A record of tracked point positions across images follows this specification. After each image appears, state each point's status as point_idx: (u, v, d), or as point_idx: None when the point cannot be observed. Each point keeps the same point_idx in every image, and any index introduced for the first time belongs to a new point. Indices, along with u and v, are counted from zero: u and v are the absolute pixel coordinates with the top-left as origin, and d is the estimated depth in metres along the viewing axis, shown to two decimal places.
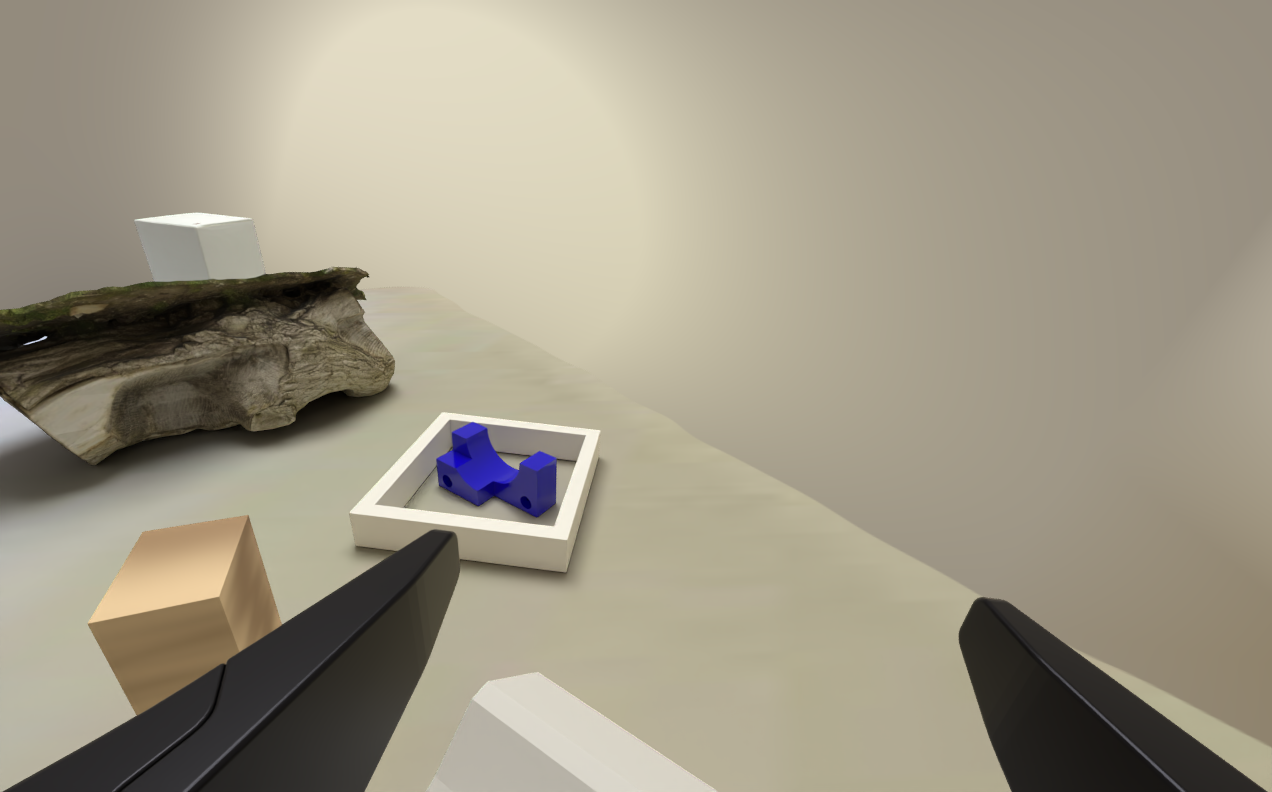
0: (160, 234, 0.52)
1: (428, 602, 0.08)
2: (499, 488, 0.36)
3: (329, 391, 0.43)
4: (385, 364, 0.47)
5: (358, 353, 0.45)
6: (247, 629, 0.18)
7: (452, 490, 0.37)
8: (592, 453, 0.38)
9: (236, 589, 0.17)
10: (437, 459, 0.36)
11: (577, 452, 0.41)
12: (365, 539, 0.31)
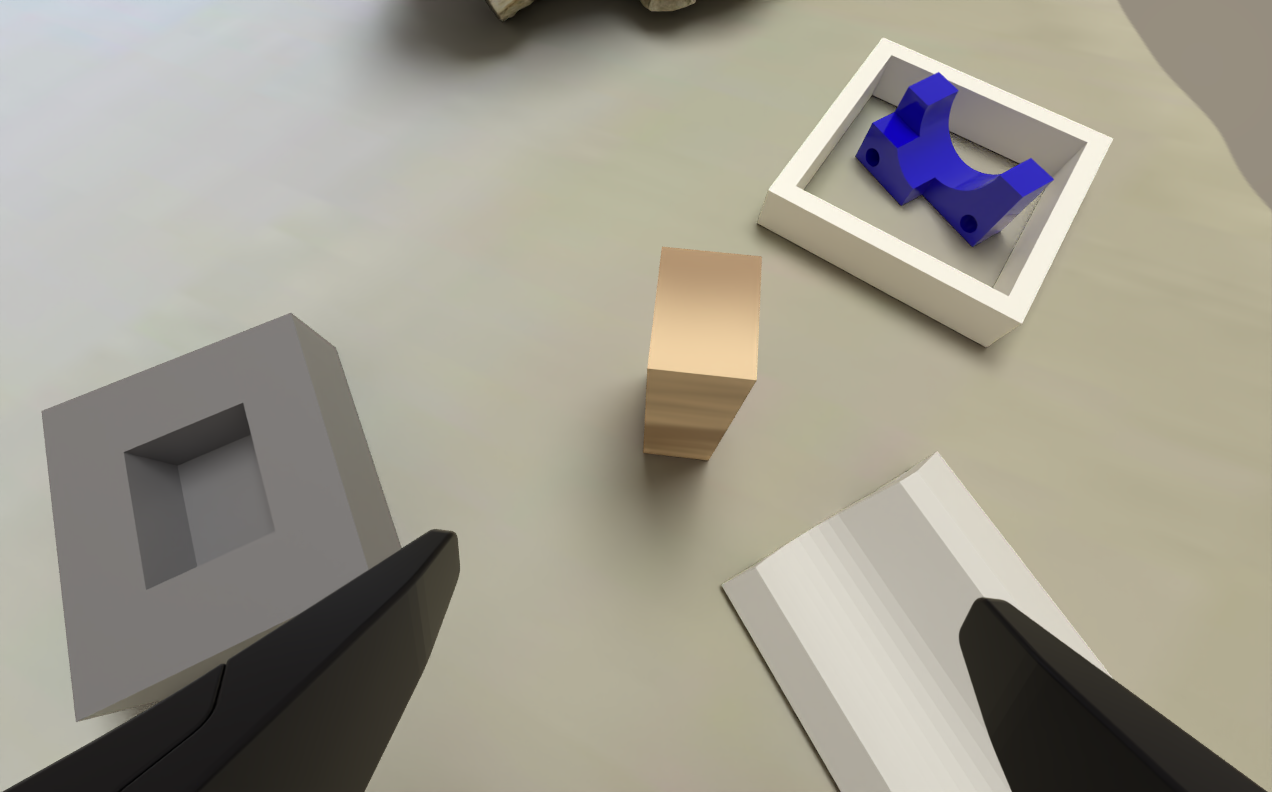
0: None
1: (428, 602, 0.08)
2: (937, 189, 0.28)
3: None
4: None
5: None
6: None
7: (872, 172, 0.29)
8: (1089, 182, 0.26)
9: None
10: (873, 124, 0.27)
11: (1050, 161, 0.28)
12: (771, 221, 0.27)
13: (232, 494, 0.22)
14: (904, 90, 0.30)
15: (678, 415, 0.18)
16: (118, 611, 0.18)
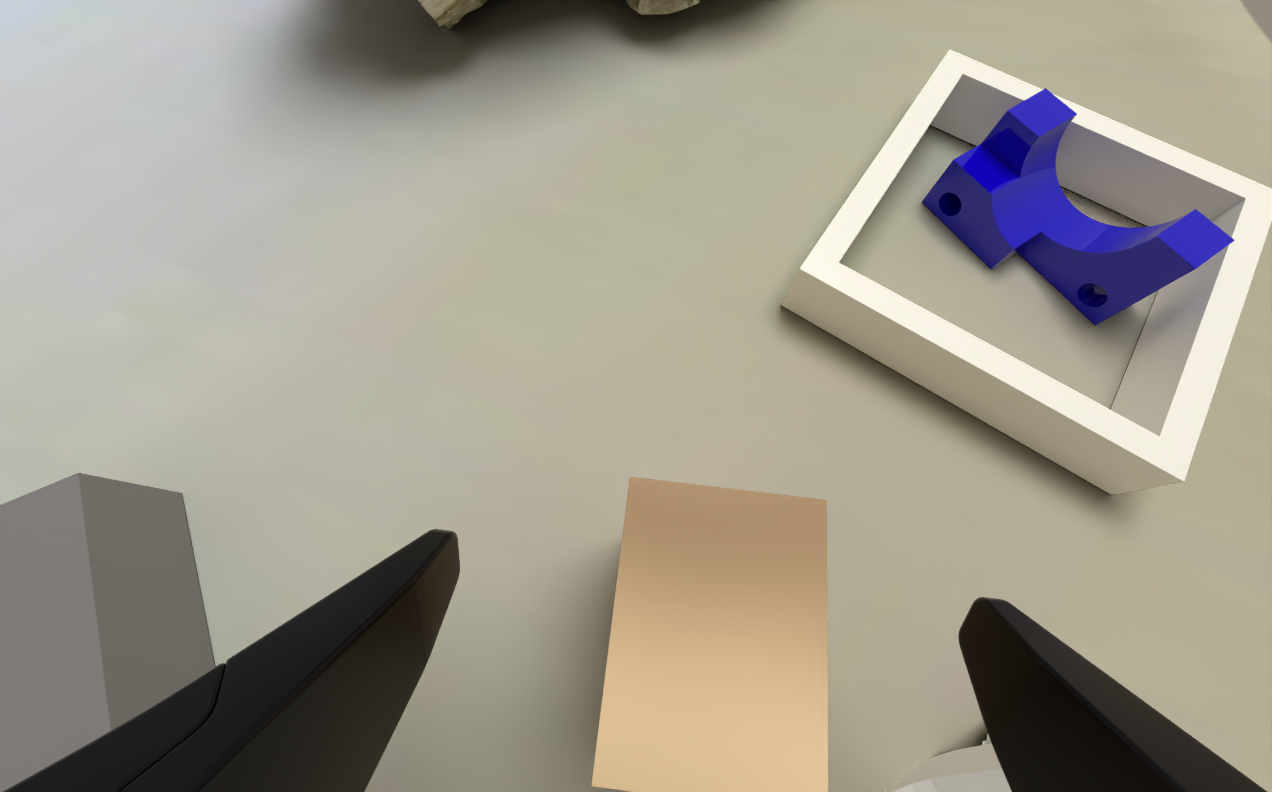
0: None
1: (428, 602, 0.08)
2: (1044, 247, 0.20)
3: None
4: None
5: None
6: None
7: (948, 222, 0.21)
8: (1256, 258, 0.18)
9: None
10: (955, 161, 0.20)
11: None
12: (801, 306, 0.20)
13: None
14: (977, 120, 0.22)
15: None
16: None
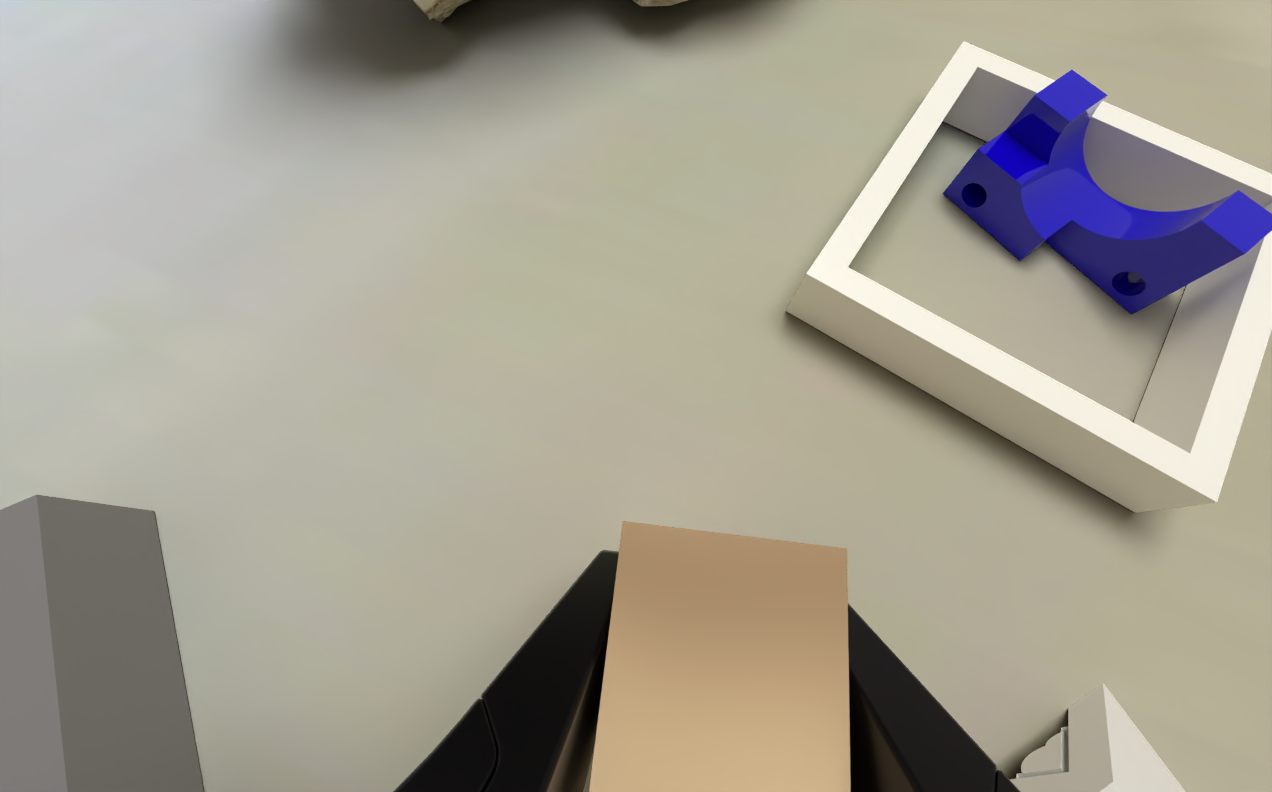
0: None
1: None
2: (1075, 235, 0.19)
3: None
4: None
5: None
6: None
7: (972, 214, 0.21)
8: None
9: None
10: (980, 150, 0.19)
11: None
12: (807, 312, 0.19)
13: None
14: (991, 116, 0.21)
15: None
16: None
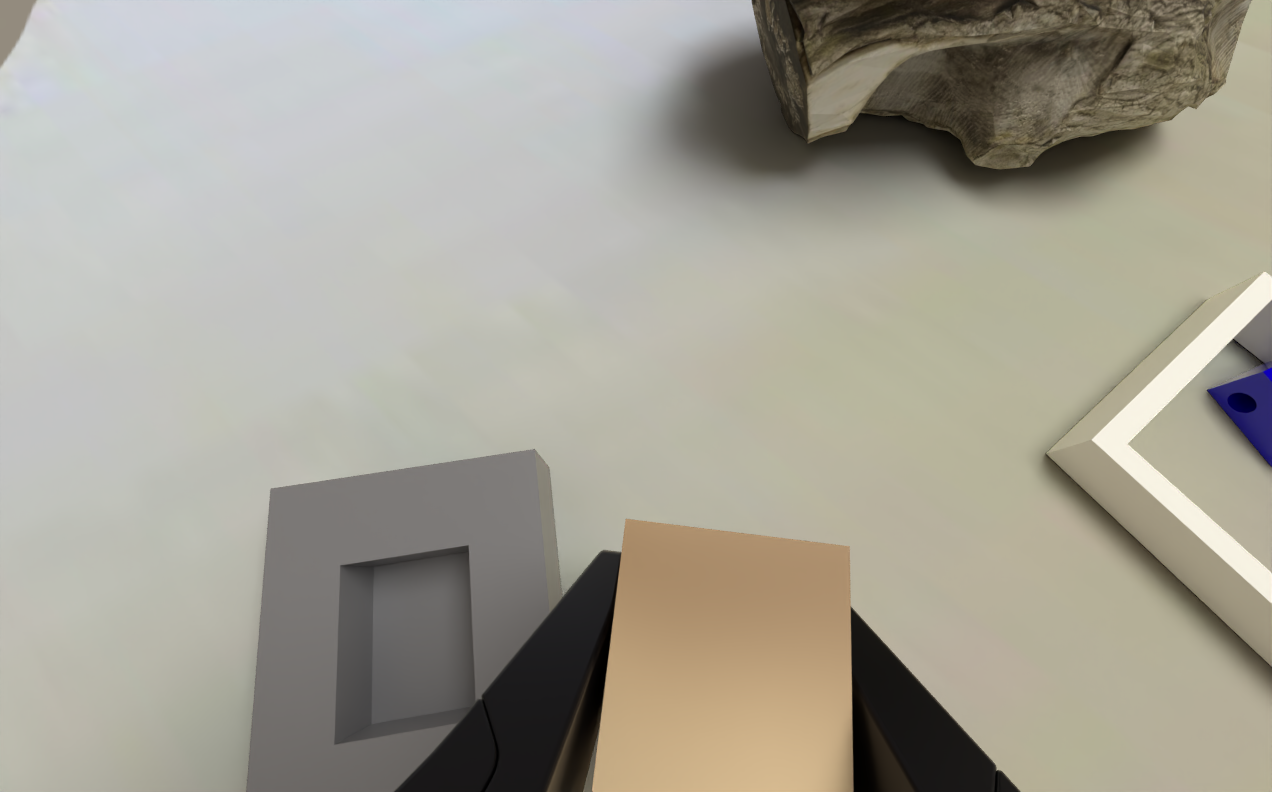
0: None
1: None
2: None
3: None
4: (1208, 95, 0.26)
5: (1205, 71, 0.24)
6: None
7: (1233, 416, 0.24)
8: None
9: None
10: (1264, 373, 0.22)
11: None
12: (1069, 462, 0.23)
13: (421, 620, 0.20)
14: (1267, 337, 0.24)
15: None
16: (302, 761, 0.17)
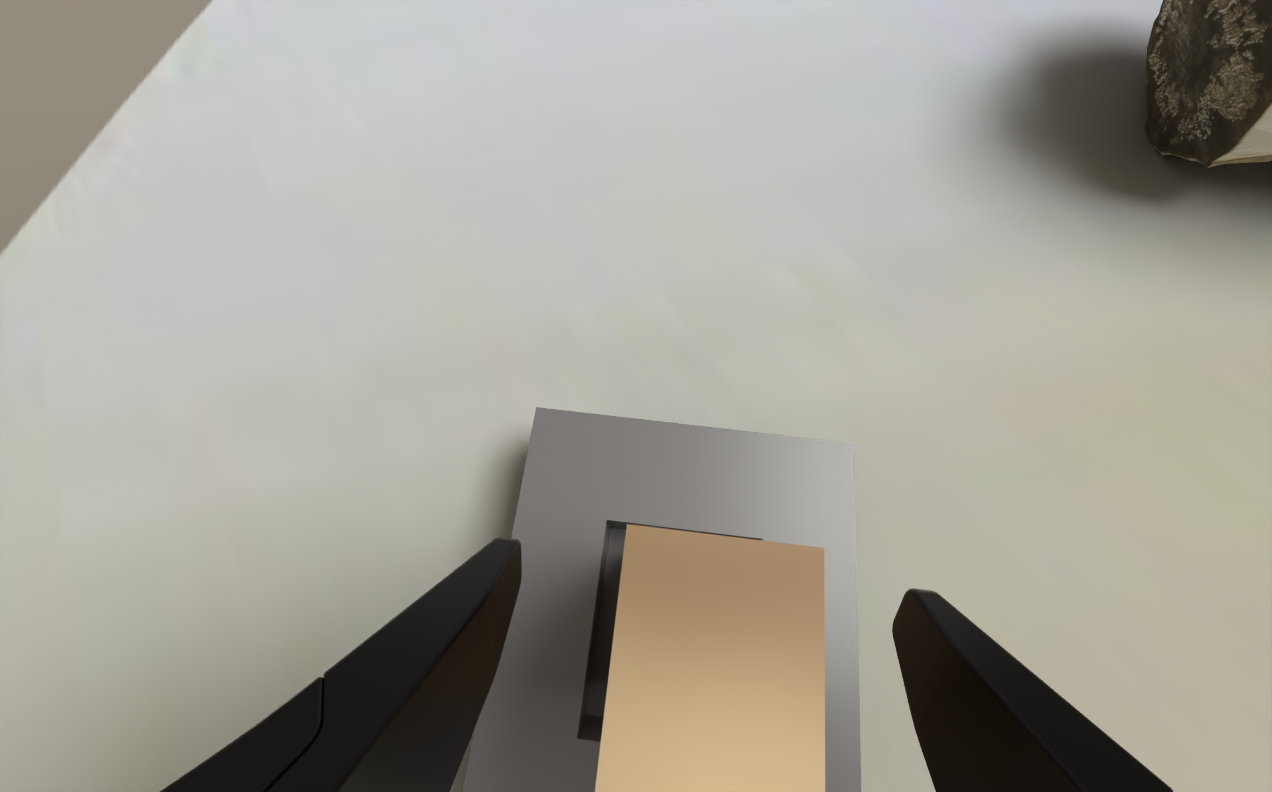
0: None
1: (499, 611, 0.08)
2: None
3: None
4: None
5: None
6: None
7: None
8: None
9: None
10: None
11: None
12: None
13: None
14: None
15: None
16: (537, 747, 0.13)
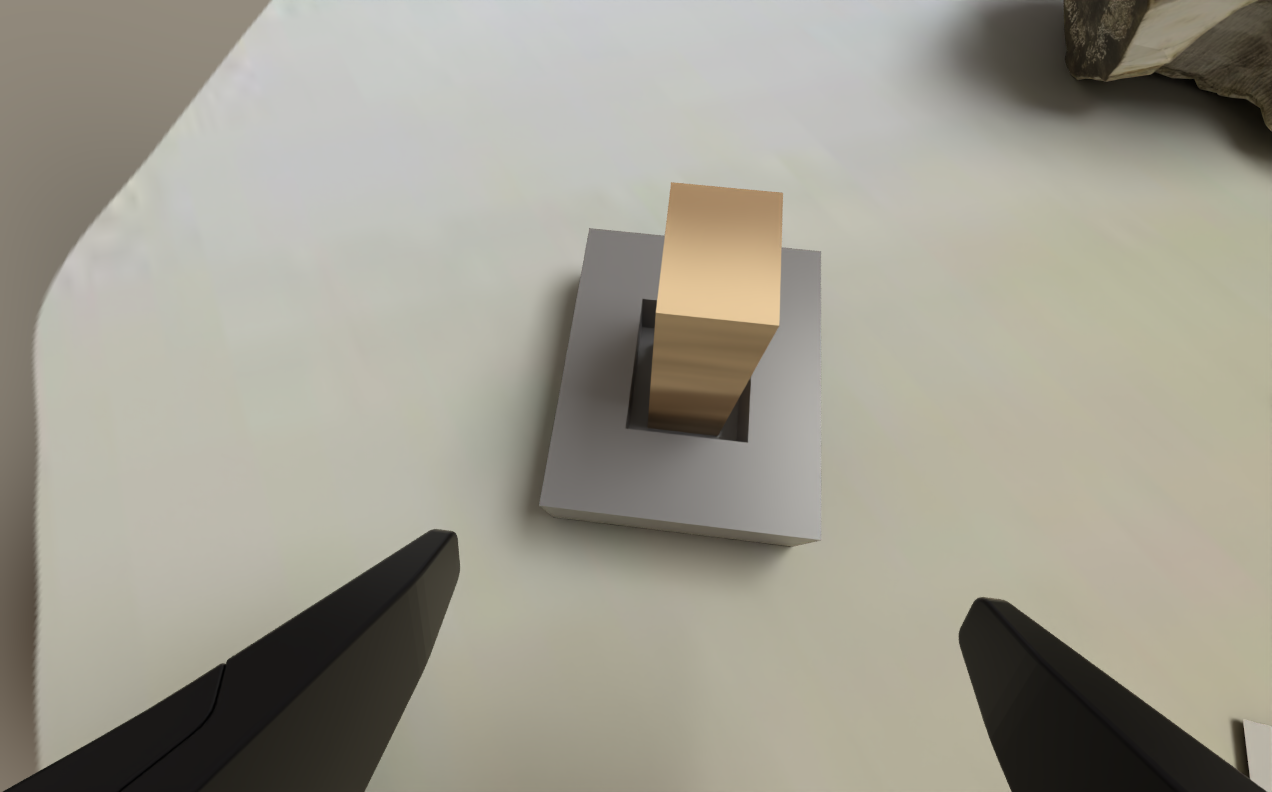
0: None
1: (428, 602, 0.08)
2: None
3: None
4: None
5: None
6: None
7: None
8: None
9: None
10: None
11: None
12: None
13: None
14: None
15: (687, 377, 0.16)
16: (598, 433, 0.19)
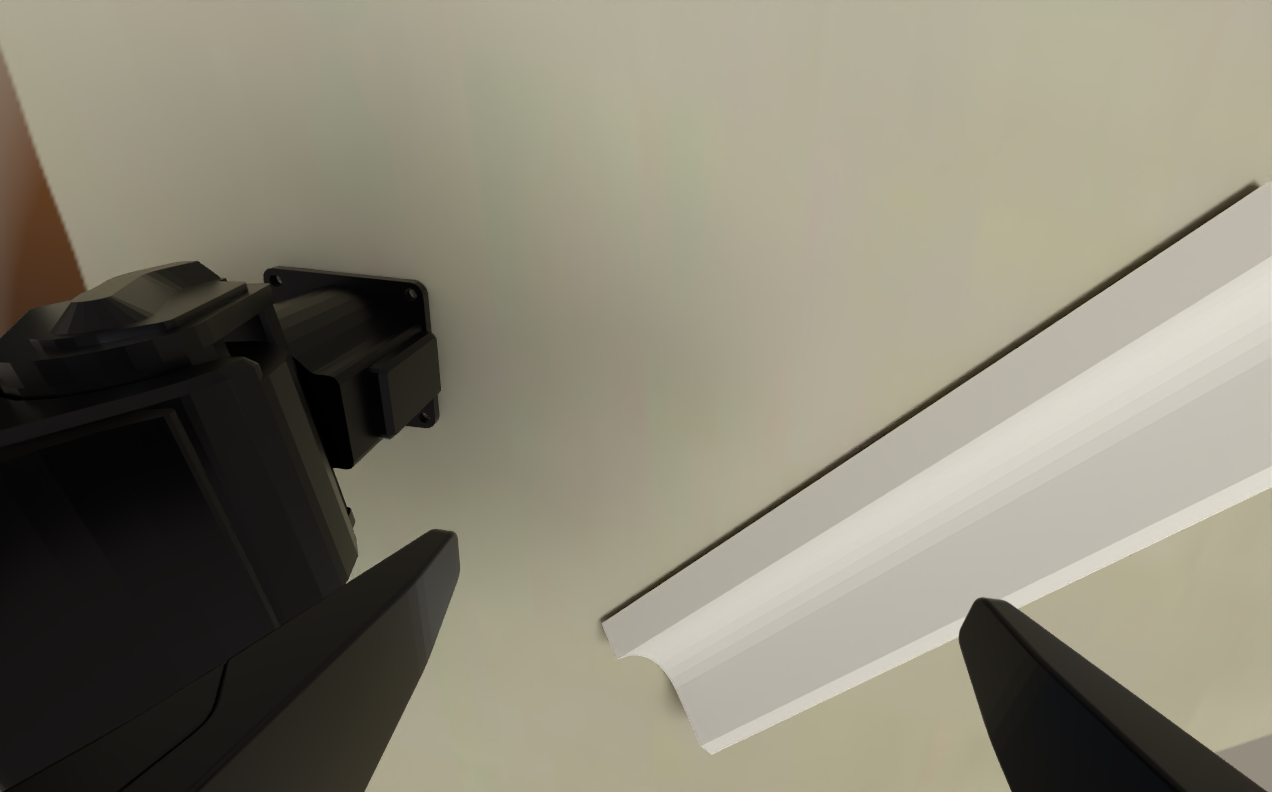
0: None
1: (428, 602, 0.08)
2: None
3: None
4: None
5: None
6: None
7: None
8: None
9: None
10: None
11: None
12: None
13: None
14: None
15: None
16: None
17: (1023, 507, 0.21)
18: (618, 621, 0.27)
